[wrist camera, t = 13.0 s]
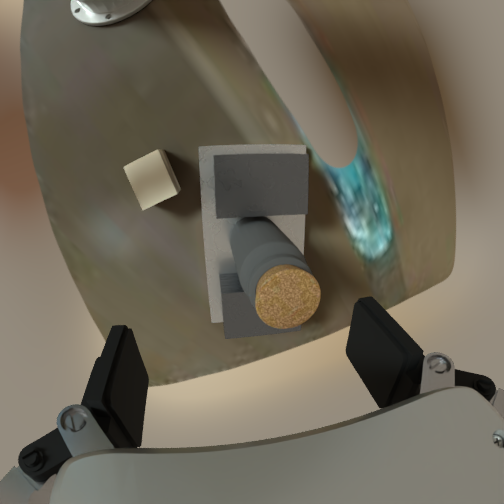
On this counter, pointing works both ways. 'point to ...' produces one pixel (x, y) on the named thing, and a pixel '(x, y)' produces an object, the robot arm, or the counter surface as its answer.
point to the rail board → (226, 224)
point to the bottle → (273, 273)
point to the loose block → (152, 179)
